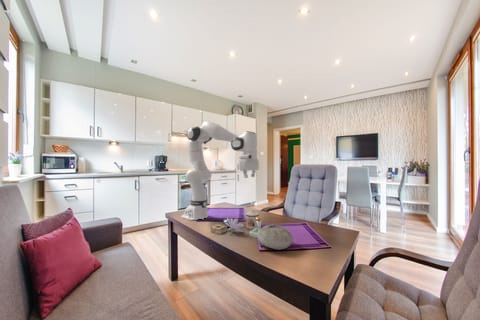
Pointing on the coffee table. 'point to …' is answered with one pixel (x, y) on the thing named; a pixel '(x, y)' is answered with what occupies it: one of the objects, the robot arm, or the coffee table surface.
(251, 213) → the teacup with lid
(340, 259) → the coffee table surface
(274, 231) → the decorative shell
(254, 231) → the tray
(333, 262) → the coffee table surface
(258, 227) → the lock pin
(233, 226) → the water lily
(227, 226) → the pulley
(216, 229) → the tensioner block
